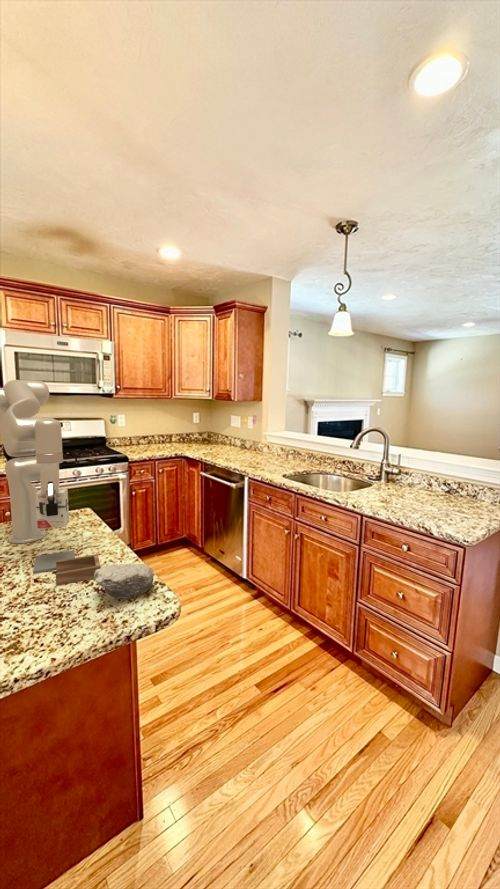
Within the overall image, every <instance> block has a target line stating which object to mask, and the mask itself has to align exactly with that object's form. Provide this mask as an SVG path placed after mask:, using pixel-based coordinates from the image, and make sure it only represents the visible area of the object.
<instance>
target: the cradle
mask: <svg viewBox="0 0 500 889" xmlns="http://www.w3.org/2000/svg"><path fill="white" fill-rule="evenodd" d="M100 568H102V567H101V562H100V558H99V554H98V553H96V554H90V555H84V556H77V557H75V558H71V559H65V560H59V561H56V570H55V571H56V573H55V586H56V587H58V586H64V585H67V584H74V583H79V582H84V581H90V580H95V579H94V574H95V571H96V570H97V569H100Z"/></svg>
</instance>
